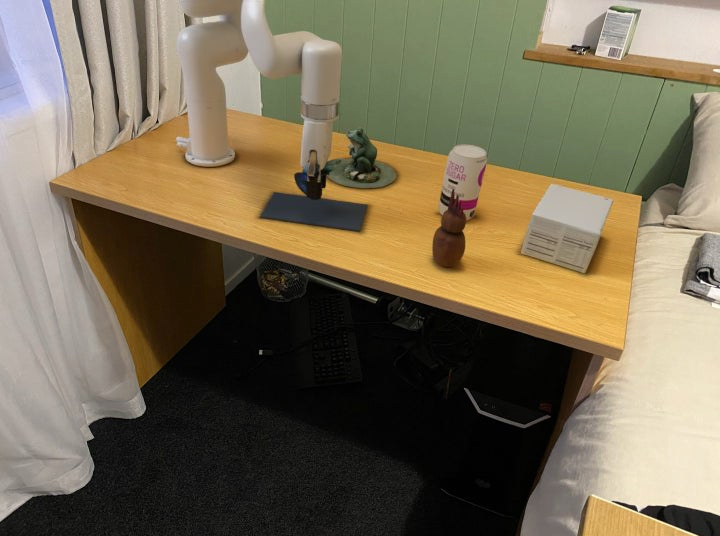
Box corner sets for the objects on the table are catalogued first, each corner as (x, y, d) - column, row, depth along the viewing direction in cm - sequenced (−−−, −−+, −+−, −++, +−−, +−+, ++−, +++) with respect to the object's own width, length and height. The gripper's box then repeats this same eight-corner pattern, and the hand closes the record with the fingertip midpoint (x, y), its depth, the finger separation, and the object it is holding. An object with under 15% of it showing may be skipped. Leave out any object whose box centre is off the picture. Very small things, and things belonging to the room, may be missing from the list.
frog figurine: (331, 155, 152) (334, 111, 145) (399, 163, 150) (405, 120, 143) (318, 183, 138) (320, 137, 131) (392, 193, 136) (398, 146, 129)
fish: (336, 206, 123) (339, 163, 117) (291, 200, 124) (291, 157, 118) (340, 197, 126) (343, 154, 120) (295, 191, 127) (296, 149, 121)
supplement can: (475, 209, 132) (490, 147, 122) (471, 225, 125) (486, 161, 116) (440, 202, 133) (453, 140, 124) (434, 218, 127) (447, 154, 118)
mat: (259, 217, 124) (259, 216, 123) (274, 193, 133) (274, 191, 133) (360, 231, 121) (360, 230, 121) (367, 206, 130) (367, 204, 130)
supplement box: (538, 220, 129) (550, 182, 123) (599, 237, 124) (615, 198, 118) (518, 253, 117) (531, 213, 111) (585, 274, 112) (601, 233, 106)
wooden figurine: (426, 252, 115) (439, 185, 106) (454, 252, 116) (469, 185, 107) (434, 271, 110) (448, 202, 101) (463, 271, 111) (480, 202, 102)
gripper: (310, 93, 120) (307, 174, 131) (291, 121, 107) (290, 208, 118) (345, 97, 119) (339, 178, 130) (330, 125, 106) (325, 212, 117)
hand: (316, 191), depth 124 cm, fingers closed on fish, 4 cm apart
